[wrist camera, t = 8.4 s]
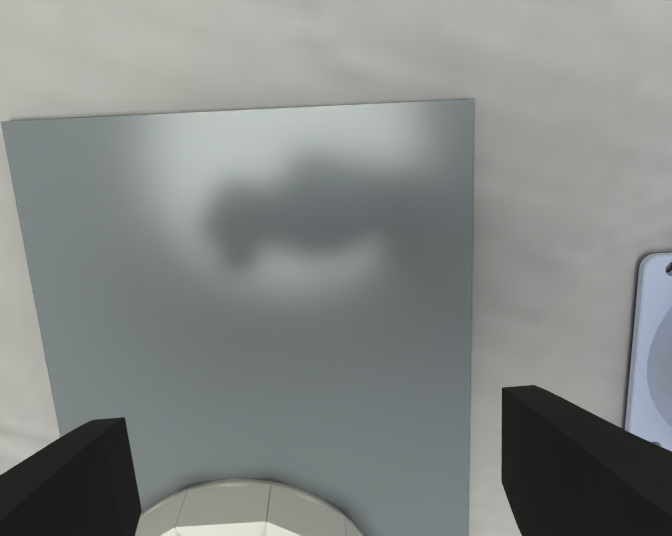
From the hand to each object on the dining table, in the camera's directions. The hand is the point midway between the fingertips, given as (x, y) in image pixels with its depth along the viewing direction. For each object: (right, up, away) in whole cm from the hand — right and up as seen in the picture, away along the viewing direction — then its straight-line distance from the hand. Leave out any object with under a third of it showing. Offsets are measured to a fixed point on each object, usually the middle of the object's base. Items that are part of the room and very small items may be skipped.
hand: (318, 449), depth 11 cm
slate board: (-2, -4, +11) cm, 12 cm away
